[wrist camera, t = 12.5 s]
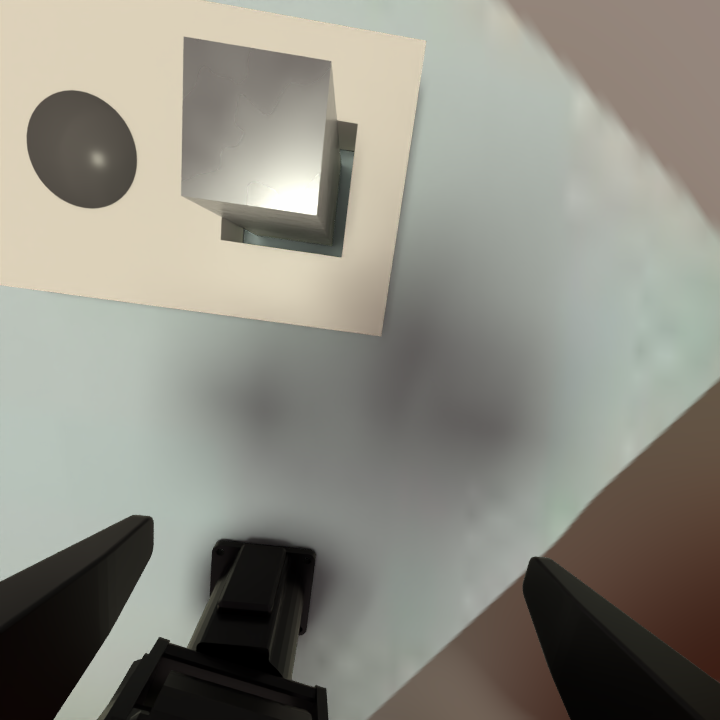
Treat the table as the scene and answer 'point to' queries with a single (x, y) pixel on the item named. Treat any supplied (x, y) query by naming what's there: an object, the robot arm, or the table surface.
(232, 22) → the socket plate
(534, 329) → the table surface
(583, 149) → the table surface
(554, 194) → the table surface
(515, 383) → the table surface
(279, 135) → the square peg
